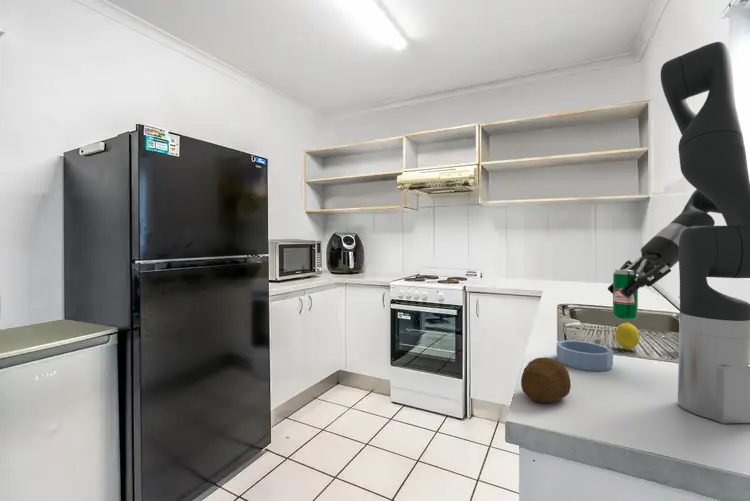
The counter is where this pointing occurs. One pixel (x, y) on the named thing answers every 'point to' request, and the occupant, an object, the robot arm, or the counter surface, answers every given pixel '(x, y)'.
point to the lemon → (627, 335)
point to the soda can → (622, 304)
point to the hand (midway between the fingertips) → (617, 293)
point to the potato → (545, 380)
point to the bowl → (584, 355)
